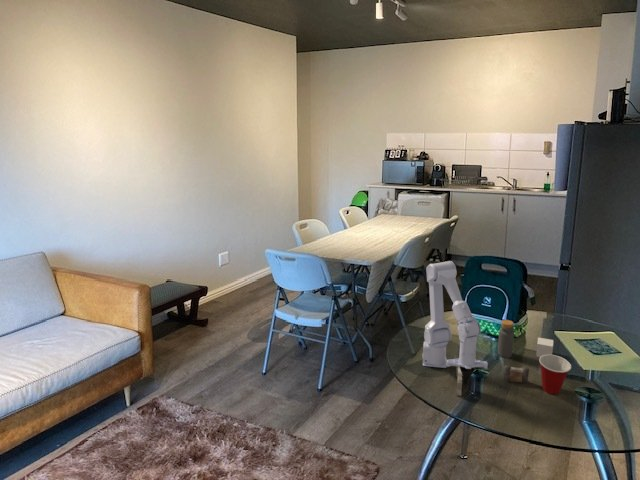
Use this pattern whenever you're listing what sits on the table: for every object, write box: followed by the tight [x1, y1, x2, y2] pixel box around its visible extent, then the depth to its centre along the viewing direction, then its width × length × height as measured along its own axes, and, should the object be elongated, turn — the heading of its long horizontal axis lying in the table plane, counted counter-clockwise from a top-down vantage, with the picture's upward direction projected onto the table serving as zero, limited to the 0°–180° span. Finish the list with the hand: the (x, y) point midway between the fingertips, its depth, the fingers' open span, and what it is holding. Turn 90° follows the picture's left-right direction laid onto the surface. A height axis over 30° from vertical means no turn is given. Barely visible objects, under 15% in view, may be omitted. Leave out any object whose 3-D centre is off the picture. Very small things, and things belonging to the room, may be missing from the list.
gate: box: [456, 366, 463, 396], centre depth 187 cm, size 13×2×5 cm, turn 164°
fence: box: [502, 364, 530, 385], centre depth 190 cm, size 9×2×6 cm, turn 76°
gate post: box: [455, 366, 463, 378], centre depth 195 cm, size 3×3×6 cm
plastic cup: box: [538, 354, 572, 395], centre depth 182 cm, size 11×11×12 cm
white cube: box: [535, 337, 554, 358], centre depth 208 cm, size 6×6×6 cm
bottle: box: [497, 319, 515, 359], centre depth 207 cm, size 6×6×15 cm
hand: (465, 383), depth 186 cm, fingers closed
